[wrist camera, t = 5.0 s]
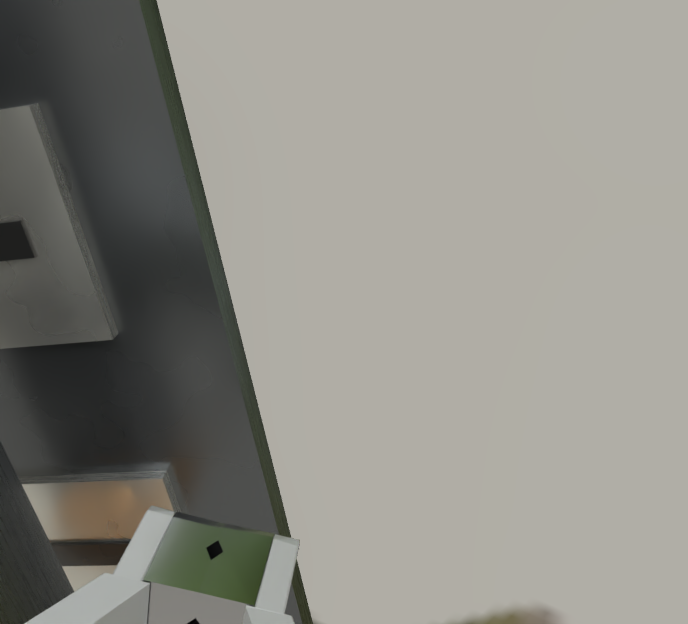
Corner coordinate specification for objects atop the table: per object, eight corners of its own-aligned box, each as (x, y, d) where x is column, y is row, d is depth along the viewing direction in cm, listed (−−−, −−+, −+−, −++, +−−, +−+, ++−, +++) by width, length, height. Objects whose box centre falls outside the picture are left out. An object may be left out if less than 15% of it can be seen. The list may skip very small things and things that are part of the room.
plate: (112, -174, 10) (76, -195, 9) (323, 666, 20) (317, 703, 19) (-446, -47, 12) (-530, -52, 11) (-7, 661, 22) (-29, 696, 20)
